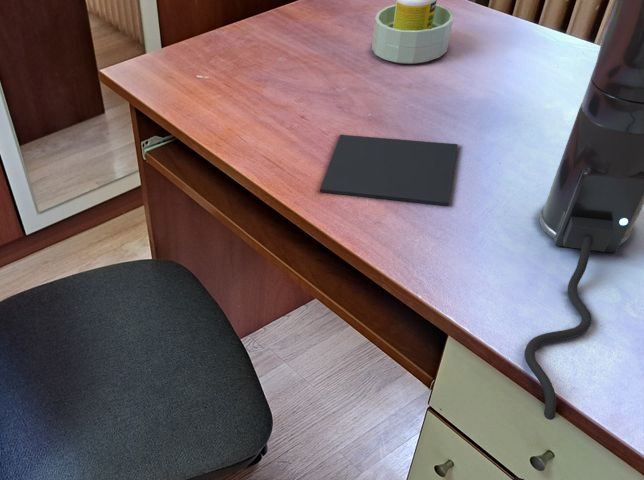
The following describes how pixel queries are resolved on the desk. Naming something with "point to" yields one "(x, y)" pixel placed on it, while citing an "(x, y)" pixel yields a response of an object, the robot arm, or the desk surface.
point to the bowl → (411, 37)
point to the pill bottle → (414, 14)
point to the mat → (391, 169)
